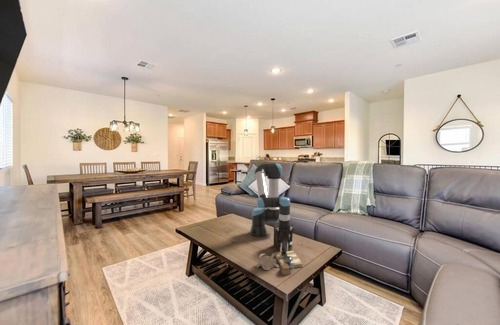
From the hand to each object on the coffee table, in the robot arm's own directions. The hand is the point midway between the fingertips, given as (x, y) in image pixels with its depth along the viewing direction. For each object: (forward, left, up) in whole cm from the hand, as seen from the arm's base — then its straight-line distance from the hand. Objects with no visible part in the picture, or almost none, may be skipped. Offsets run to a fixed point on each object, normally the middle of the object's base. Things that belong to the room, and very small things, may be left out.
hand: (283, 251), depth 155 cm
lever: (+8, 0, -3) cm, 8 cm away
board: (+4, +2, -5) cm, 7 cm away
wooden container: (-15, +4, -5) cm, 16 cm away
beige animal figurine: (+8, -13, -6) cm, 17 cm away
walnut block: (+17, -5, -5) cm, 18 cm away
